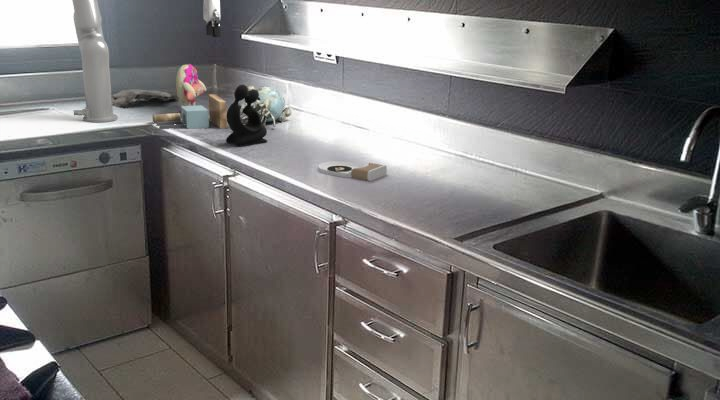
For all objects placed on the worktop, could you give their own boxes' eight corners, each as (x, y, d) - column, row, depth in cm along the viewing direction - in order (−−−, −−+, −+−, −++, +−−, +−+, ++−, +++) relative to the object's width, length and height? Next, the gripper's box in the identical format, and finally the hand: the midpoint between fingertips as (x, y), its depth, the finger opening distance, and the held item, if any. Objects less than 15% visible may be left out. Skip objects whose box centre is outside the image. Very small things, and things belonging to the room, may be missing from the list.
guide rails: (159, 129, 254) (159, 126, 254) (156, 125, 261) (156, 122, 260) (184, 127, 258) (184, 124, 258) (181, 124, 264) (180, 120, 264)
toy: (195, 119, 274) (193, 68, 268) (173, 118, 274) (170, 67, 268) (209, 108, 298) (208, 60, 292) (189, 107, 298) (186, 60, 292)
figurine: (237, 147, 230) (236, 87, 224) (222, 143, 236) (221, 84, 230) (271, 142, 240) (271, 84, 234) (256, 137, 246) (255, 81, 240)
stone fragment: (109, 101, 312) (108, 86, 310) (175, 98, 322) (174, 84, 320) (111, 109, 289) (109, 94, 287) (182, 106, 299) (181, 91, 297)
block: (187, 128, 257) (186, 111, 255) (181, 123, 266) (180, 106, 264) (208, 127, 260) (208, 110, 258) (202, 121, 269) (201, 105, 267)
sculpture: (294, 108, 284) (301, 112, 255) (262, 139, 284) (266, 147, 255) (259, 73, 279) (263, 72, 250) (227, 105, 279) (227, 108, 250)
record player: (367, 172, 195) (310, 162, 205) (367, 183, 196) (310, 172, 206) (388, 164, 204) (332, 154, 214) (388, 174, 205) (332, 164, 215)
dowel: (154, 124, 263) (153, 115, 262) (152, 122, 266) (152, 113, 265) (181, 123, 267) (180, 114, 266) (179, 121, 270) (178, 112, 269)
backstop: (220, 128, 258) (219, 101, 255) (209, 119, 274) (208, 94, 271) (226, 128, 259) (226, 101, 256) (215, 119, 275) (214, 94, 272)
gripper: (197, -10, 278) (199, 34, 283) (207, -9, 263) (208, 38, 268) (216, -9, 281) (217, 34, 286) (226, -8, 266) (228, 37, 271)
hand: (213, 36), depth 277 cm, fingers open, 9 cm apart
